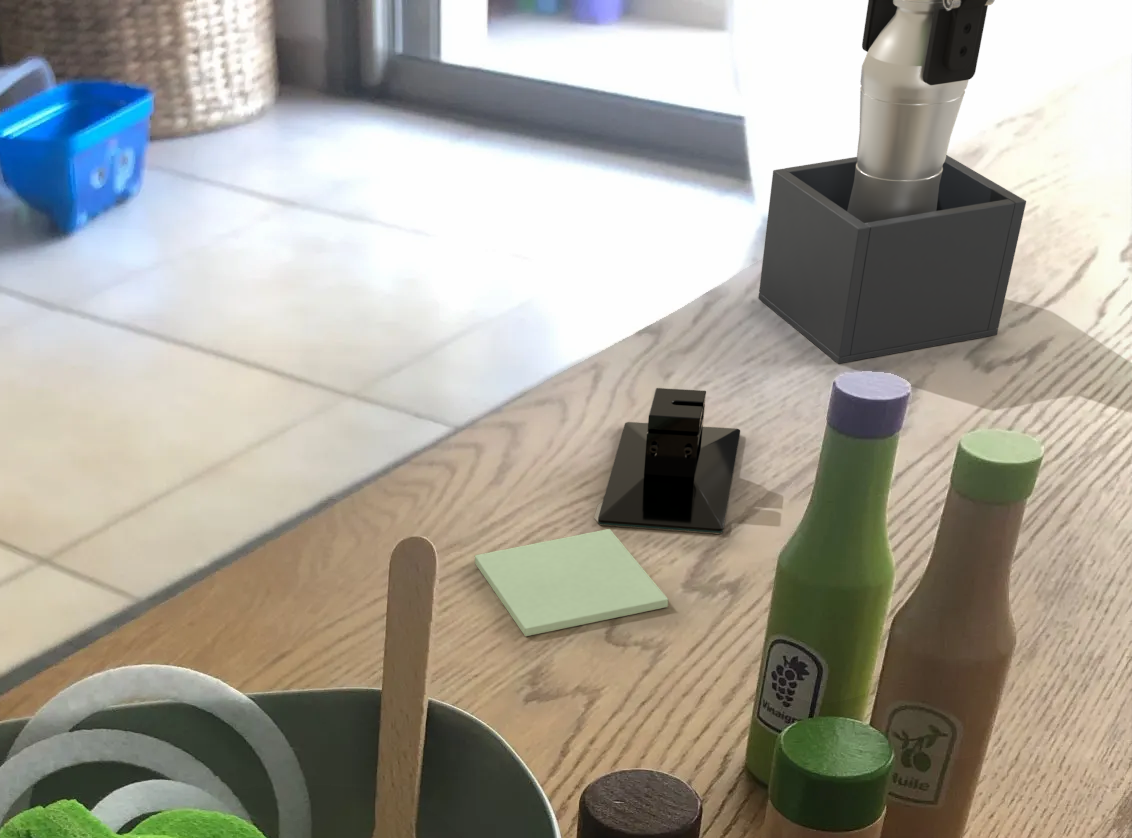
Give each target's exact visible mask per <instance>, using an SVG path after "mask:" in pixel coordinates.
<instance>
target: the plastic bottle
mask: <svg viewBox="0 0 1132 838" xmlns="http://www.w3.org/2000/svg"><path fill="white" fill-rule="evenodd" d="M893 4H894V5H895V6H897V10H896V14H895V15H894V17H893V18H892V19H891V20H890V21H889V23H888V24H887V25H886V26H885V27H884V29H883V30H882V31H881V32H880V34H879V35H878V37H877V38H876V40H875V41H874V43H873V44H872V46H871V47H870V49H869V50H868V52H867V53H866V55H865V56H864V57H865V58H864V60H863V62H862V64H861V72H860V85H861V86H860V89H859V90H860V91H859V131H858V132H859V133H858V141H857V142H858V143H857V151H856V157H857V159H858V162H857V164H856V169H855V178H854V184H853V188H852V192H851V197H850V201H849V205H848V210H847V212H848V213H850V214H851V215H853V216H854V217H856V218H857V219H859V220H860V221H862V222H863V223H867V222H873V221H880V220H886V219H892V218H898V217H904V216H910V215H916V214H922V213H928V212H934V211H936V210H937V201H938V192H939V184H940V180H941V175H942V171H943V167H942V166H943V163H944V162H945V159H946V155H948V149H949V145H950V141H951V137H952V134H953V130H954V127H955V124H956V121H957V118H958V115H959V112H960V110H961V109H960V108H961V106H962V103H963V99H964V97H965V93H966V90H967V88H968V83H969V80H964V81H957V82H951V83H944V84H937V85H929V84H927V83H925V82H924V81H923V73H924V67H925V61H926V55H927V49H928V43H929V37H930V31H931V25H932V19H933V14H934V8H935V7H942V6H943V0H893Z"/></svg>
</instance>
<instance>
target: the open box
mask: <svg viewBox="0 0 1132 838" xmlns="http://www.w3.org/2000/svg"><path fill="white" fill-rule="evenodd" d="M857 162H858V159H857V156H854V157H847V158H841V159H835V160H828V161H822V162H815V163H809V164H803V165H796V166H790V167H784V168H779V169H773V170H772V177H771V186H770V194H769V195H770V196H769V204H768V213H767V222H766V230H765V236H764V237H765V238H764V247H763V256H762V262H761V263H762V265H761V273H760V274H761V275H760V280H759V281H760V282H759V289H758V290H759V291H758V296H757V298H758V300H760V301H761V302H762V303H763V304H764V305H766V306H767V307H768V308H769V309H771V310H772V311H773V312H774V313H776V314H777V315H778V316H779V317H780V318H782V319H783V321H785V322H787V324H789V325H790V326H792V327H793V328H794V329H795V330H796V331H797V332H799V333H800V334H802V336H804V337H805V338H806V339H807V340H809V341H810V342H811V343H812V344H813V345H815V346H816V348H819V350H821V351H822V352H824V354H826V355H827V356H828V357H829V358H830V359H832V360H833V361H834V362H836V364H844V363H849V362H854V361H860V360H865V359H871V358H876V357H877V358H878V357H881V356H889V355H893V354H898V353H905V352H909V351H915V350H920V349H925V348H931V347H937V346H943V345H947V344H954V343H960V342H965V341H969V340H975V339H980V338H987V337H991V336H997V335H998V332H999V327H1000V323H1001V319H1002V313H1003V309H1004V305H1005V300H1006V295H1007V291H1008V287H1009V282H1010V277H1011V274H1012V268H1013V263H1014V258H1015V254H1016V250H1017V245H1018V241H1019V237H1020V232H1021V228H1022V223H1023V218H1024V214H1025V209H1026V205H1027V200H1026V199H1024V198H1022V197H1020V196H1019V195H1017V194H1016V193H1013V192H1012V191H1010V190H1009V189H1007V188H1005V187H1003V186H1001V185H1000V184H998V183H997V182H994V181H993V180H990V179H989V178H988V177H986V176H984V175H982V174H981V173H979V172H978V171H975V170H974V169H972V168H971V167H968V166H967V165H965V164H963V163H962V162H959V160H956V159H955V158H953V157H952V156H949V155H948V154H946V159H945V162H944V163H943V166H942V167H943V171H942V175H941V180H940V184H939V192H938V201H937V210H936V211H934V212H928V213H922V214H916V215H910V216H904V217H898V218H892V219H886V220H880V221H873V222H867V223H863V222H862V221H860V220H859V219H857V218H856V217H854V216H853V215H851V214H850V213H848V212H847V210H848V205H849V201H850V197H851V192H852V188H853V184H854V178H855V169H856V164H857Z"/></svg>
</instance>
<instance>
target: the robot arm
mask: <svg viewBox="0 0 1132 838" xmlns="http://www.w3.org/2000/svg"><path fill="white" fill-rule="evenodd" d="M994 2H996V1H995V0H943V6H942V7H935V8H934V14H933V19H932V25H931V31H930V37H929V43H928V49H927V55H926V61H925V67H924V73H923V81H924V82H925V83H927V84H929V85H937V84H944V83H951V82H957V81H964V80H968V81H969V80H971V79H972V78H973V77H974V76H975V74H976V70H977V64H978V60H979V55H980V49H981V45H982V39H983V33H984V29H985V24H986V17H987V12H988V7H989V6H992V5H993V4H994ZM866 8H867V9H866V14H865V22H864V29H863V36H862V43H861V48H862V50H863V51H865V52H867V53H868V50H869V49H870V47H871V46H872V44H873V43H874V41H875V40H876V38H877V37H878V35H879V34H880V32H881V31H882V30H883V29H884V27H885V26H886V25H887V24H888V23H889V21H890V20H891V19H892V18H893V17H894V15H895V14H896V10H897V6H895V5H894V4H893V0H867V7H866Z"/></svg>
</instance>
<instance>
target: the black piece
mask: <svg viewBox="0 0 1132 838" xmlns="http://www.w3.org/2000/svg"><path fill="white" fill-rule="evenodd" d="M706 396H707V391H706V390H699V389H684V388H683V389H680V388H666V387H665V388H664V387H656V388H655V390H654V394H653V397H652V403H651V405H650V409H649V413H648V419H647V422H635V421H627V422H625V423H624V425H623V428H622V432H621V435H620V439H619V443H618V446H617V449H616V453H615V457H614V461H613V464H612V468H611V471H610V476H609V478H608V481H607V484H606V485H607V486H606V488H605V493H604V496H603V499H602V502H600V503H599V504H597V507H596V510H595V514H594V517H593V518H594V520H595V521H596V522H597V524H598V525H600V526H606V527H607V526H608V527H619V528H620V527H621V528H633V529H634V528H635V529H649V530H661V531H673V532H674V531H676V532H688V533H702V534H715V535H720V534H723V533H724V529H725V522H726V517H727V512H728V505H729V500H730V494H731V488H732V483H733V477H734V471H735V465H736V459H737V454H738V448H739V443H740V438H741V429H740V428H732V427H718V426H717V427H716V426H704V420H705V411H706V410H705V409H706V398H707V397H706Z"/></svg>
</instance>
